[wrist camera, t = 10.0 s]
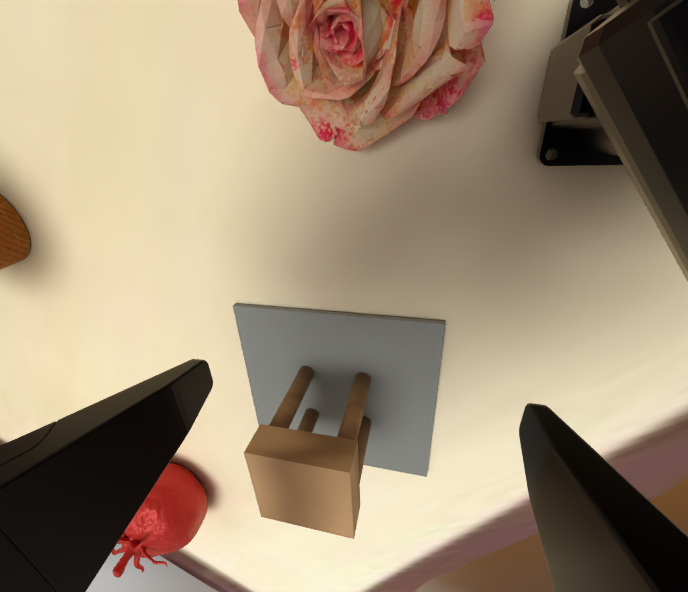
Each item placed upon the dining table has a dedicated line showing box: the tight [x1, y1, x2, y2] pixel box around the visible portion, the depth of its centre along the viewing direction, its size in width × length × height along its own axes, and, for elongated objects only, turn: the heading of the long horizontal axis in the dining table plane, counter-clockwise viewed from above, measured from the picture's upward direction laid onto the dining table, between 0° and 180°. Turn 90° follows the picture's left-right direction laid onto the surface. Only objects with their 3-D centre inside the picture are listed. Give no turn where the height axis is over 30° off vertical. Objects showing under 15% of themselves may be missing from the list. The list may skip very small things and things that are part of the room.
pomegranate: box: [112, 463, 208, 577], centre depth 34 cm, size 10×10×9 cm
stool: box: [244, 366, 371, 539], centre depth 22 cm, size 6×6×8 cm
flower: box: [238, 0, 495, 151], centre depth 12 cm, size 10×9×8 cm
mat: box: [233, 303, 445, 477], centre depth 25 cm, size 15×15×1 cm
